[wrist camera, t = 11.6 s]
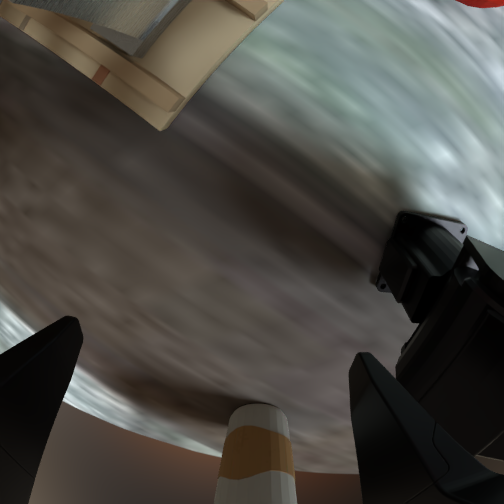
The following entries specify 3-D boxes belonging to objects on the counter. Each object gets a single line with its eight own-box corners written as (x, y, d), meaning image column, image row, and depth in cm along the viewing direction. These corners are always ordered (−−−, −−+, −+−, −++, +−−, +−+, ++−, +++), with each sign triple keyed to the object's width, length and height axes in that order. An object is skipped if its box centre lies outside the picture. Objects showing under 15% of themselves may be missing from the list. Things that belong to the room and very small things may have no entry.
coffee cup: (241, 438, 35) (234, 546, 21) (207, 405, 31) (188, 532, 18) (305, 425, 33) (312, 541, 19) (279, 389, 29) (281, 531, 16)
